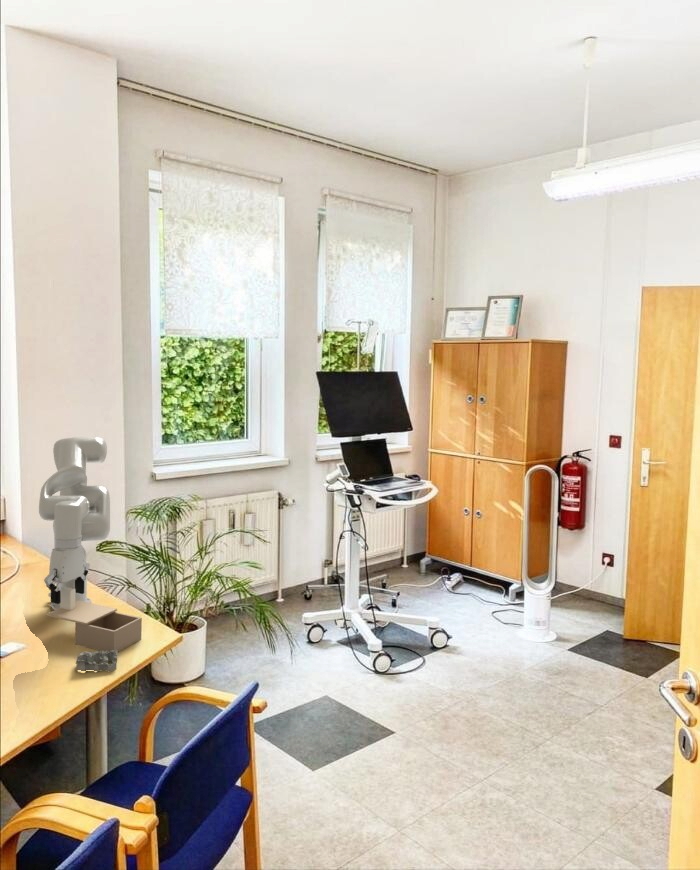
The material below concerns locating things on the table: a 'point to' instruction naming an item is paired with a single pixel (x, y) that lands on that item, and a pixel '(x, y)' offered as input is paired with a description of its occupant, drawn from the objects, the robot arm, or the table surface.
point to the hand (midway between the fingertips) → (67, 597)
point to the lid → (78, 609)
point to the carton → (109, 632)
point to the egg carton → (97, 660)
